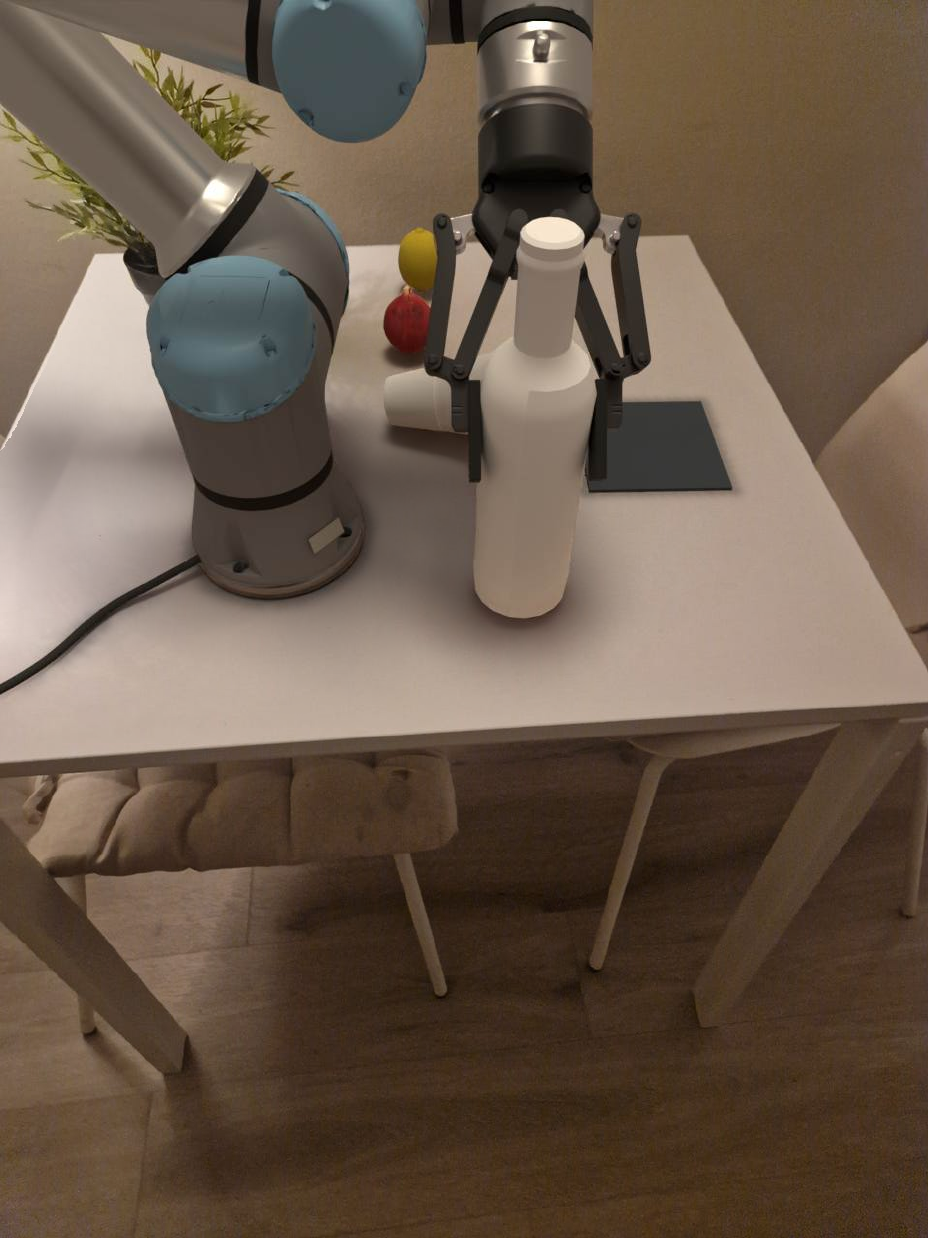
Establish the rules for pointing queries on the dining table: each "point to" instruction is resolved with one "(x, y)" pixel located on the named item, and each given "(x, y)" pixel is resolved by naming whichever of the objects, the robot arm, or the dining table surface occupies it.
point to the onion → (407, 322)
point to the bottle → (534, 431)
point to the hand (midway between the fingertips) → (536, 480)
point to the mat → (662, 450)
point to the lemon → (418, 259)
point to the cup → (424, 398)
